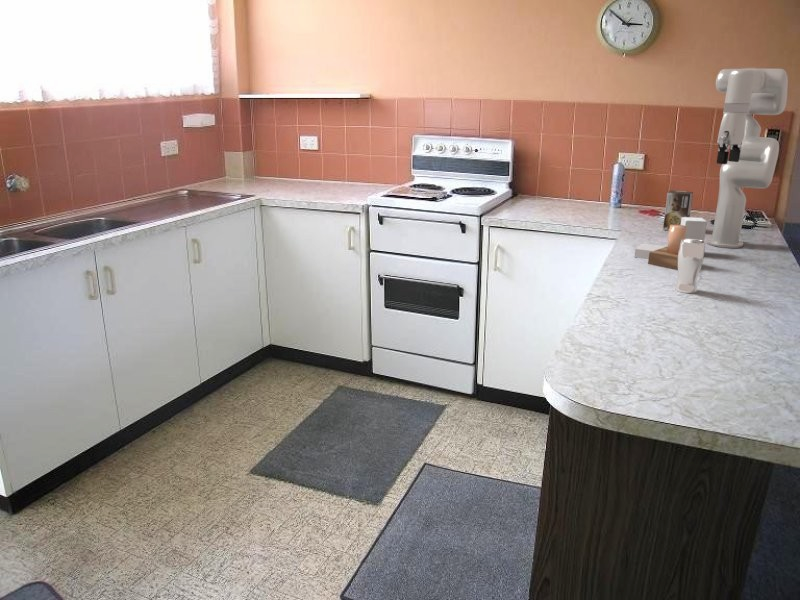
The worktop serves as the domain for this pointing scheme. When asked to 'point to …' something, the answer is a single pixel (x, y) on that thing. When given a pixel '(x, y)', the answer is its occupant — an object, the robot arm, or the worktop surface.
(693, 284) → the beer glass
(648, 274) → the worktop surface
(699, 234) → the supplement box
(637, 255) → the white plinth
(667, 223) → the coffee box
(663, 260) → the walnut plinth
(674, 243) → the glossy peach capsule
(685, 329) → the worktop surface
